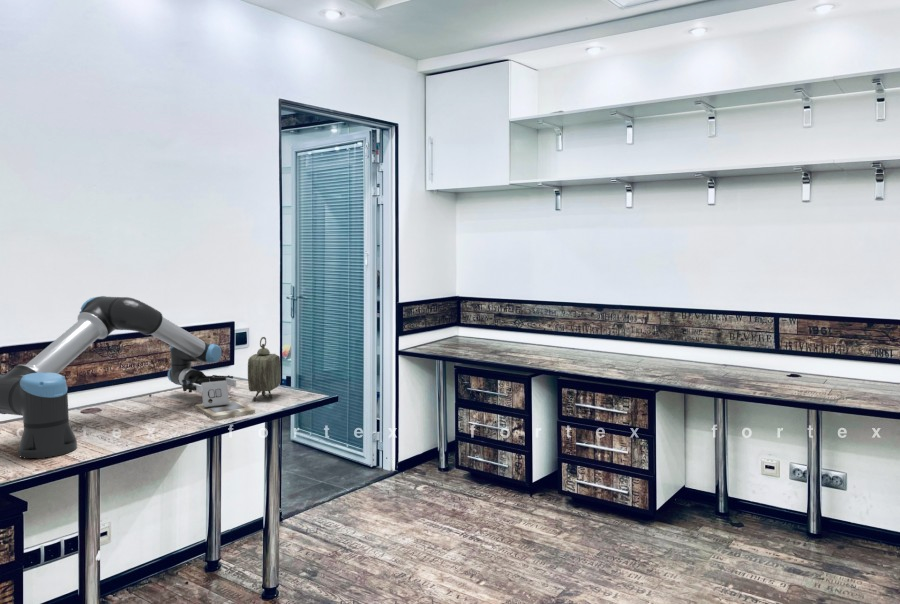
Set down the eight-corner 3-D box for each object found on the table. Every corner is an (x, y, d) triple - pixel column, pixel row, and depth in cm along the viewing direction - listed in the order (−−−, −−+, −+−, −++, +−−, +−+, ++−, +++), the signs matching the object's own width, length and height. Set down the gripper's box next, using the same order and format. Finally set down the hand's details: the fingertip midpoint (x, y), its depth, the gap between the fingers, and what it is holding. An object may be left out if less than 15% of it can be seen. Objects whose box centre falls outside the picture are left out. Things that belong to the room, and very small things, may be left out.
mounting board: (213, 420, 230) (213, 415, 229) (195, 408, 247) (195, 404, 247) (255, 413, 239) (255, 409, 238) (234, 402, 256) (234, 398, 256)
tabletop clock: (260, 394, 270) (258, 334, 268) (282, 394, 270) (280, 334, 268) (248, 402, 256) (246, 339, 254) (271, 402, 255) (269, 339, 253)
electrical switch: (203, 407, 239) (201, 382, 240) (201, 408, 244) (199, 383, 245) (229, 404, 243) (227, 380, 244) (227, 405, 248) (225, 380, 249)
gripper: (222, 383, 269) (248, 390, 255) (161, 393, 251) (187, 402, 237) (221, 365, 269) (248, 371, 254) (160, 374, 250) (186, 381, 236)
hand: (218, 386), depth 245 cm, fingers open, 13 cm apart
